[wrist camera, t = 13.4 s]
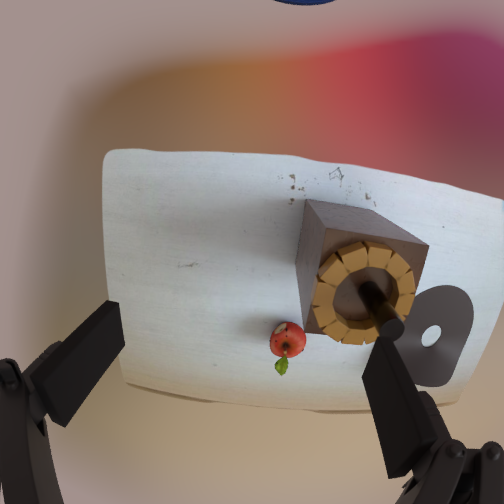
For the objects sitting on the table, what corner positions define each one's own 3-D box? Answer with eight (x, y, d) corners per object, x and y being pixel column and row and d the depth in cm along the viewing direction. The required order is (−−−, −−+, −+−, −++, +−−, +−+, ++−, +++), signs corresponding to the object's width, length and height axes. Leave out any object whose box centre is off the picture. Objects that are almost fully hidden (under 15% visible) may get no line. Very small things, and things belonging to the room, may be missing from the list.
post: (361, 279, 29) (384, 317, 21) (381, 281, 29) (409, 319, 21) (355, 299, 29) (375, 342, 22) (375, 302, 29) (399, 343, 22)
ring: (323, 233, 28) (326, 239, 26) (419, 250, 27) (427, 256, 25) (302, 329, 31) (303, 339, 29) (390, 337, 31) (395, 347, 29)
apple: (269, 315, 56) (266, 345, 46) (304, 312, 55) (308, 342, 45) (272, 346, 58) (270, 378, 48) (305, 344, 57) (308, 376, 48)
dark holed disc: (488, 296, 50) (509, 314, 41) (451, 364, 56) (466, 387, 47) (412, 274, 50) (432, 295, 41) (374, 356, 57) (385, 384, 48)
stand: (306, 198, 48) (326, 227, 27) (371, 210, 48) (429, 245, 27) (295, 264, 52) (303, 332, 31) (357, 273, 51) (398, 340, 31)
